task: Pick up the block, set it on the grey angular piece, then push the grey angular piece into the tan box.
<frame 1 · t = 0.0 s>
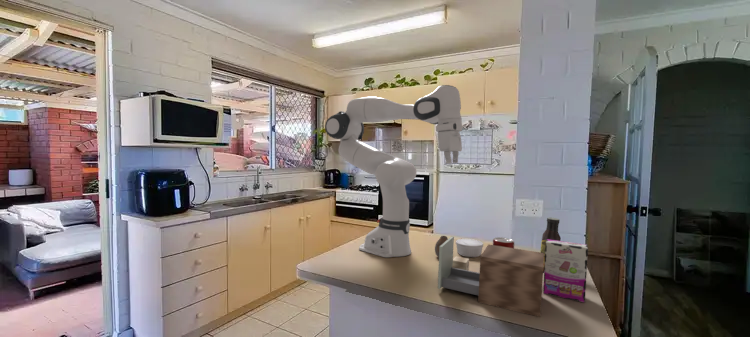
hand: (452, 163, 124), 39 cm above the counter, tool pointing down, fingers open, 8 cm apart
soda can: (501, 272, 117), on the counter
tan box: (510, 299, 95), on the counter
candy bar box: (563, 295, 99), on the counter
block: (460, 273, 115), on the counter
ramekin: (468, 254, 137), on the counter
sauce bottle: (548, 271, 120), on the counter
vase: (443, 258, 131), on the counter
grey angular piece: (468, 265, 101), point 8 cm above the counter, slide at 11.0 cm
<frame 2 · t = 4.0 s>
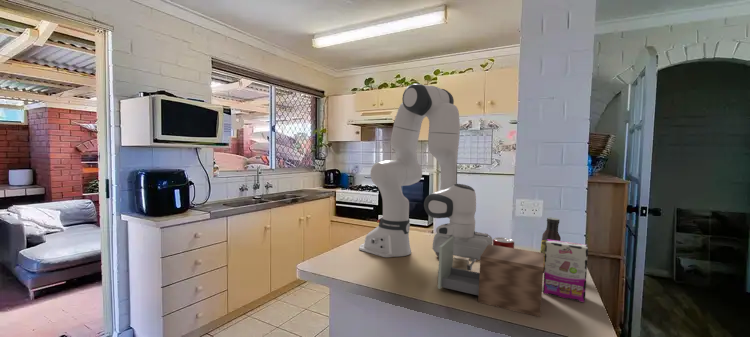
hand: (460, 268, 115), 2 cm above the counter, tool pointing down, fingers closed on block, 5 cm apart
block: (460, 272, 115), on the counter, touching gripper
everything else where it was.
when the fingers open (5 cm above the counter, at t = 11.0 s): block stays where it is, resting on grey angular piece.
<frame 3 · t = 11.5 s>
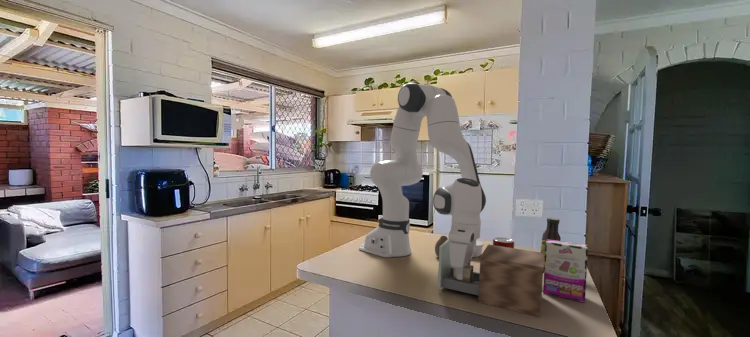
hand: (463, 273, 102), 5 cm above the counter, tool pointing down, fingers open, 8 cm apart
block: (463, 282, 102), point 2 cm above the counter, touching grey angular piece
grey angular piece: (468, 265, 101), point 8 cm above the counter, slide at 11.0 cm, touching block
everything else where it was.
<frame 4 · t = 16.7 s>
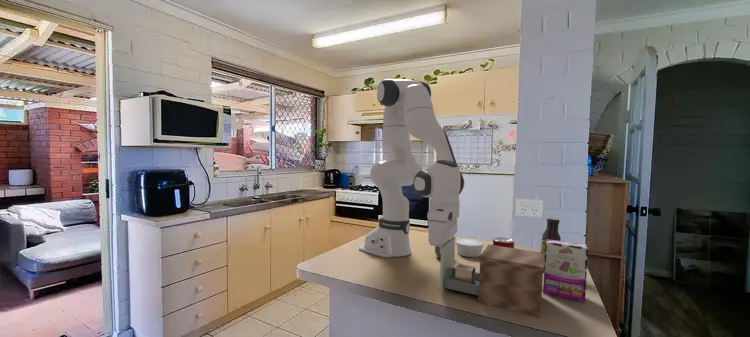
hand: (443, 253, 104), 10 cm above the counter, tool pointing down, fingers closed, pressing on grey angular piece
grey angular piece: (470, 265, 101), point 8 cm above the counter, slide at 10.4 cm, touching block, gripper
everything else where it was.
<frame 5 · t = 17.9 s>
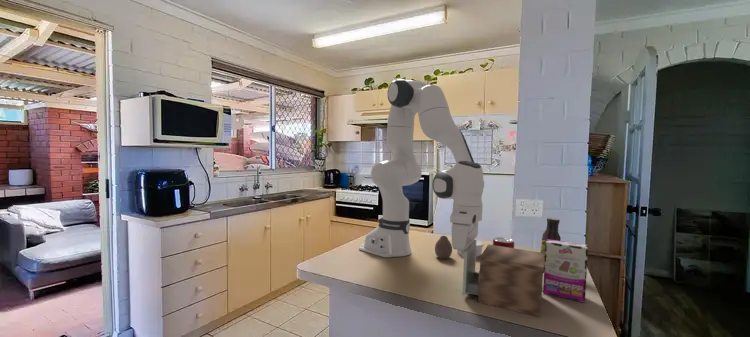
hand: (465, 257, 101), 10 cm above the counter, tool pointing down, fingers closed, pressing on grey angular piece
block: (487, 287, 98), point 2 cm above the counter, touching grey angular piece
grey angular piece: (494, 270, 97), point 8 cm above the counter, slide at 3.5 cm, touching block, gripper
everything else where it was.
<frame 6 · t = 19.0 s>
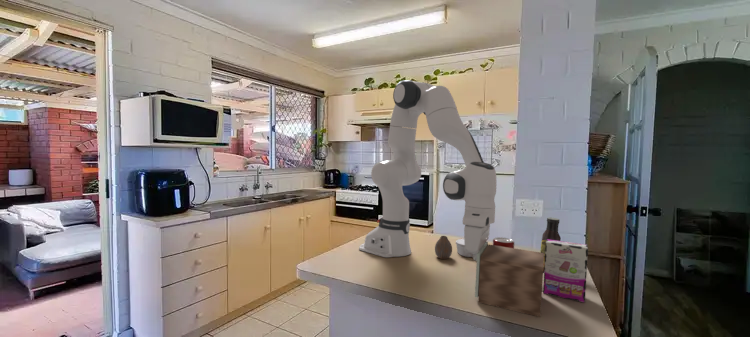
hand: (477, 259, 99), 10 cm above the counter, tool pointing down, fingers closed, pressing on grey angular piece
block: (500, 290, 97), point 2 cm above the counter, touching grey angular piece
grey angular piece: (506, 272, 96), point 8 cm above the counter, slide at -0.1 cm, touching block, gripper
everything else where it was.
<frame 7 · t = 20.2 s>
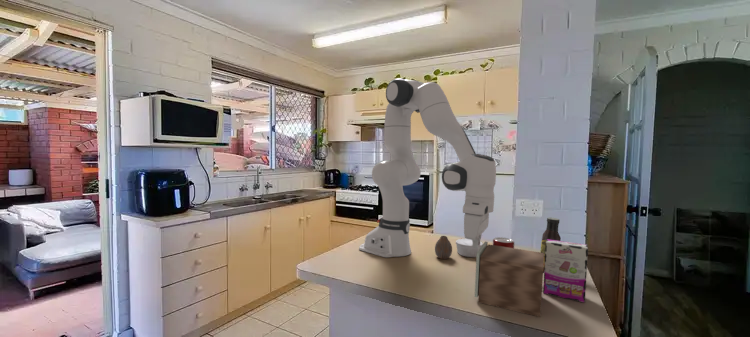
hand: (476, 246, 105), 13 cm above the counter, tool pointing down, fingers closed
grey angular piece: (506, 272, 96), point 8 cm above the counter, slide at 0.0 cm, touching block
everything else where it was.
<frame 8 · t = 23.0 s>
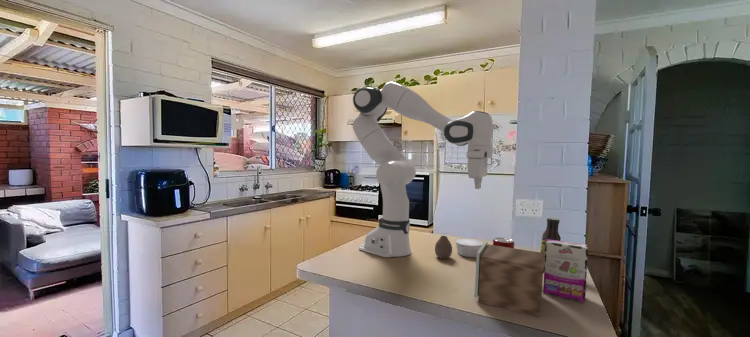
hand: (477, 188, 126), 29 cm above the counter, tool pointing down, fingers closed
nothing on the counter moved.
at the end: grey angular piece slide at 0.0 cm; block inside the target area (3.0 cm from its centre), point 2.1 cm above the counter; block tilted 0° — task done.
